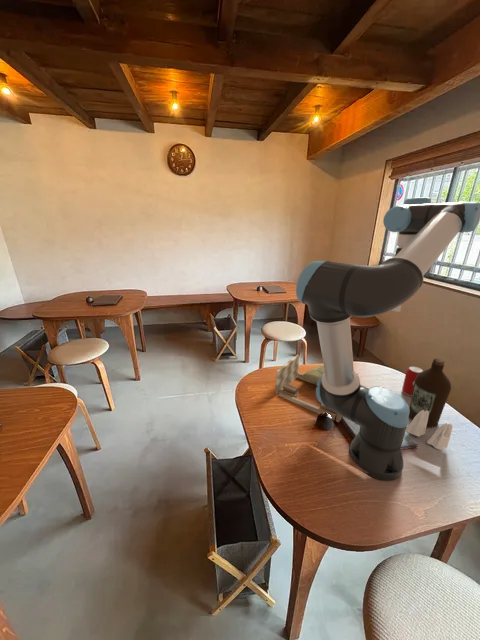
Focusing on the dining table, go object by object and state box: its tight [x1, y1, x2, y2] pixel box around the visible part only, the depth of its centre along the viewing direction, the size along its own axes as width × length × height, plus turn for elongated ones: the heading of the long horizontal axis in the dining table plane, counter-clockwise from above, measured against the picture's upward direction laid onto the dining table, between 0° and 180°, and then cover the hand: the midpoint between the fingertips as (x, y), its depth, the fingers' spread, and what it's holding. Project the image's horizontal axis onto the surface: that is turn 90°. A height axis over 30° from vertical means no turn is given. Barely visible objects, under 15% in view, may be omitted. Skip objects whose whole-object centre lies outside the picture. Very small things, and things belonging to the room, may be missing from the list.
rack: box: [274, 354, 359, 423], centre depth 112 cm, size 19×27×12 cm
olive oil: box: [409, 357, 452, 428], centre depth 96 cm, size 11×11×25 cm
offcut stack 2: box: [319, 403, 337, 419], centre depth 103 cm, size 3×7×4 cm, turn 52°
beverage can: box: [401, 366, 424, 398], centre depth 114 cm, size 6×6×12 cm
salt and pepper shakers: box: [405, 410, 453, 451], centre depth 89 cm, size 12×4×11 cm, turn 45°
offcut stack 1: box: [281, 383, 300, 398], centre depth 114 cm, size 3×7×4 cm, turn 52°
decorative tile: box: [303, 365, 325, 384], centre depth 120 cm, size 19×6×20 cm
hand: (398, 305), depth 99 cm, fingers open, 13 cm apart
